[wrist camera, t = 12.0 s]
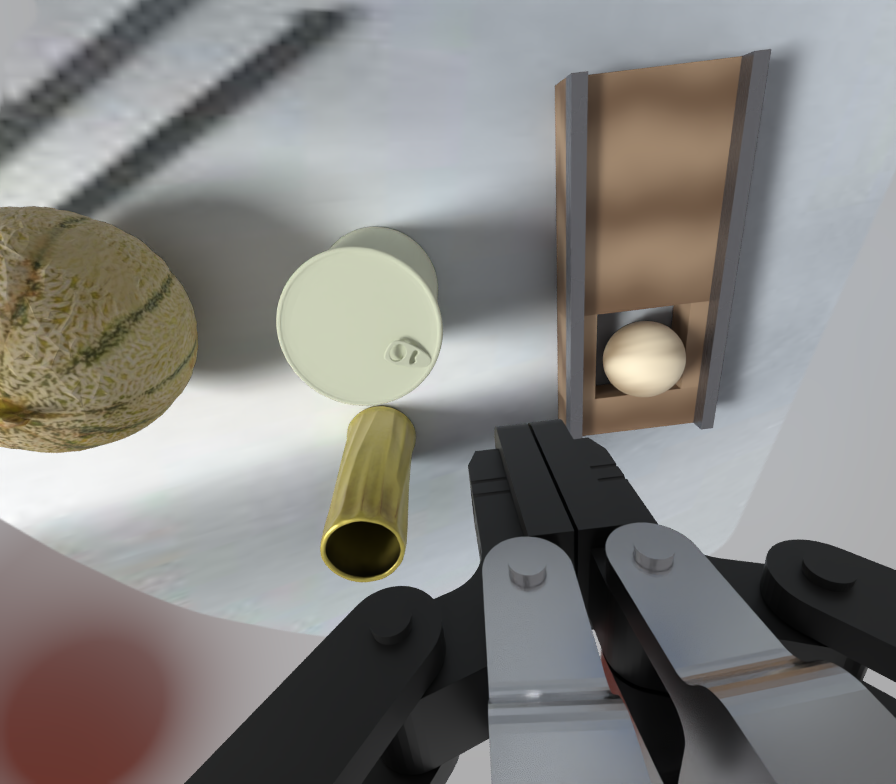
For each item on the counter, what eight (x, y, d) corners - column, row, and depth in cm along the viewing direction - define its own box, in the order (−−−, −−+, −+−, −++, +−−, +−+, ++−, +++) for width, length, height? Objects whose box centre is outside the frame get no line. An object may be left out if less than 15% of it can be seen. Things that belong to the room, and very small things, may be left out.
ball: (597, 400, 39) (587, 331, 39) (665, 389, 39) (656, 320, 39) (627, 405, 33) (615, 322, 33) (708, 392, 33) (697, 310, 33)
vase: (423, 414, 40) (424, 523, 27) (405, 470, 43) (398, 595, 30) (355, 397, 39) (322, 502, 26) (341, 456, 42) (304, 578, 29)
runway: (555, 85, 30) (571, 73, 27) (732, 64, 30) (771, 49, 27) (558, 423, 41) (570, 445, 38) (689, 408, 41) (712, 427, 38)
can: (409, 362, 38) (404, 433, 27) (302, 317, 36) (251, 374, 25) (457, 259, 35) (473, 293, 24) (343, 204, 33) (303, 213, 22)
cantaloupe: (69, 155, 31) (-213, 131, 17) (265, 287, 35) (165, 352, 21) (0, 324, 35) (-268, 413, 22) (182, 423, 39) (54, 549, 26)
